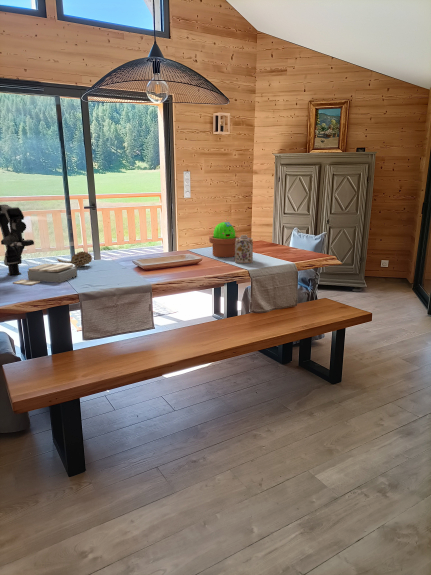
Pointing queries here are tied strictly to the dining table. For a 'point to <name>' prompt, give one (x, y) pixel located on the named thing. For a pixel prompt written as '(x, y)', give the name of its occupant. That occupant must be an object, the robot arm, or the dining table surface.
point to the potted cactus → (223, 240)
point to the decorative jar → (243, 249)
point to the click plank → (55, 268)
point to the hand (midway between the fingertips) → (19, 257)
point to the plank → (26, 282)
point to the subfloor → (51, 274)
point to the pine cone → (79, 259)
